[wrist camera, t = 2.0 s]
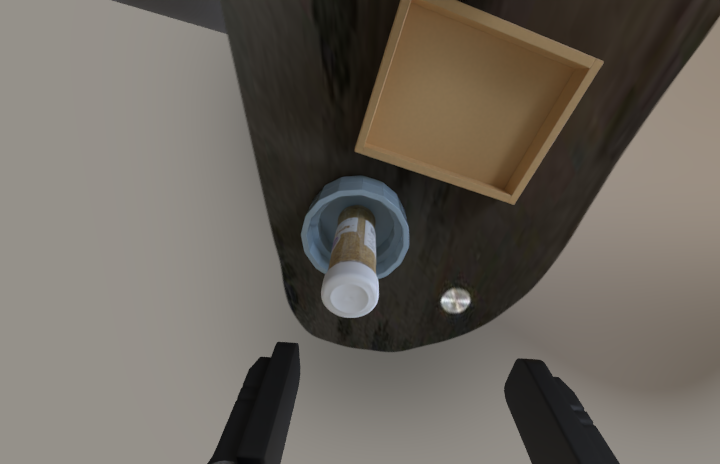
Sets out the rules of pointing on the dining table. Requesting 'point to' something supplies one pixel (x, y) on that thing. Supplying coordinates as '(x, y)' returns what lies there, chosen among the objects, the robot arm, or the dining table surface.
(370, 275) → the sprinkles bottle
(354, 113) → the dining table surface
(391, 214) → the bowl
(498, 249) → the dining table surface
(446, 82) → the tray
